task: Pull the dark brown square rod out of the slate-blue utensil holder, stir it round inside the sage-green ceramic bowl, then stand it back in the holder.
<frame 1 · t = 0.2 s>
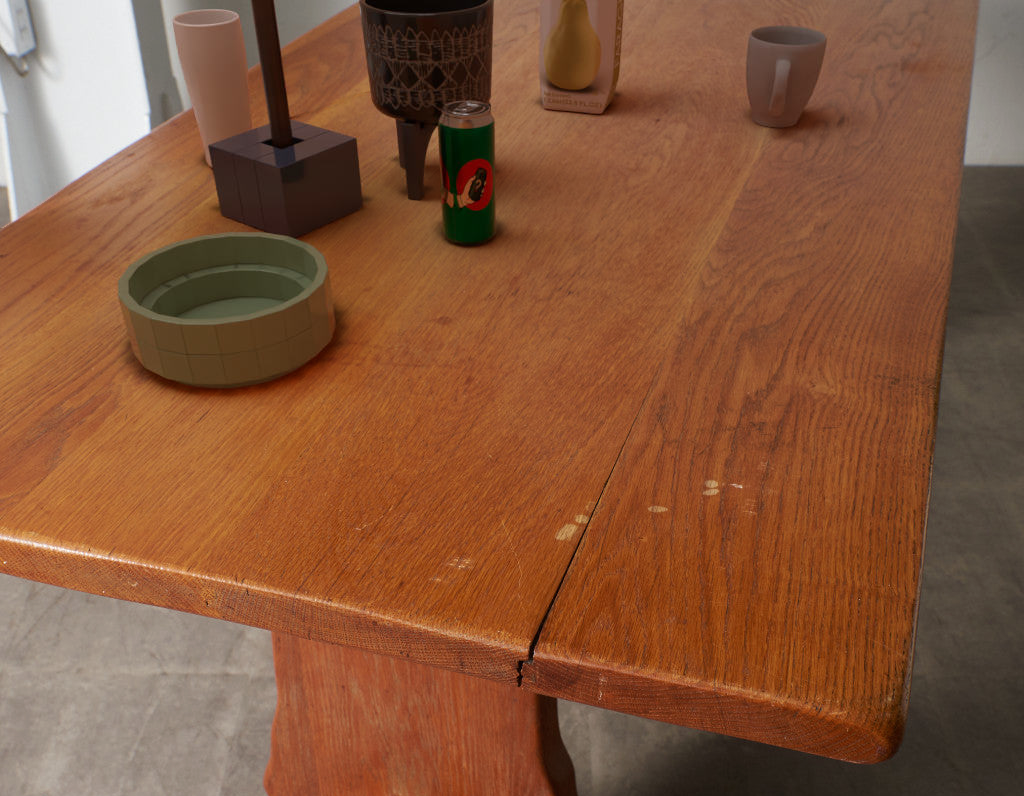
dark brown square rod: (278, 109, 95), in the holder
juice carton: (578, 106, 127), on the table
holder: (292, 211, 101), on the table
bowl: (237, 343, 81), on the table
mug: (773, 126, 121), on the table
soda can: (469, 238, 97), on the table
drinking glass: (232, 165, 111), on the table
planter: (435, 181, 108), on the table
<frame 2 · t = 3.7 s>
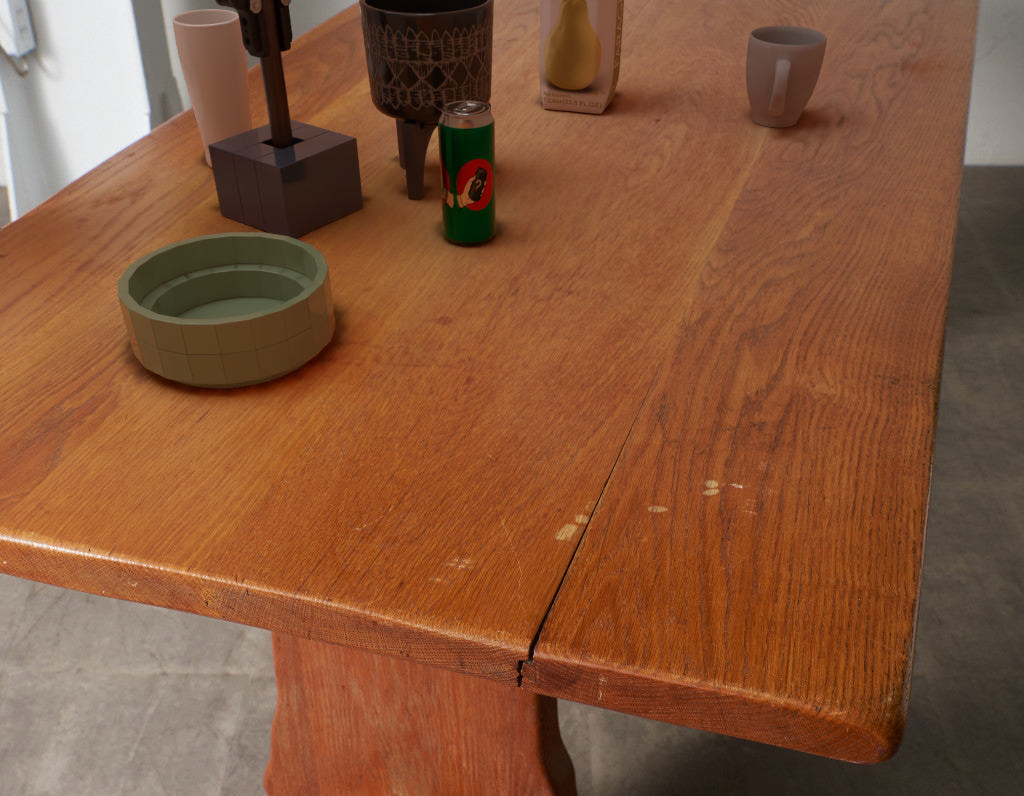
hand: (269, 52, 92), 15 cm above the table, tool pointing down, fingers closed on dark brown square rod, 2 cm apart
dark brown square rod: (278, 109, 95), in the holder, touching gripper
everything else where it was.
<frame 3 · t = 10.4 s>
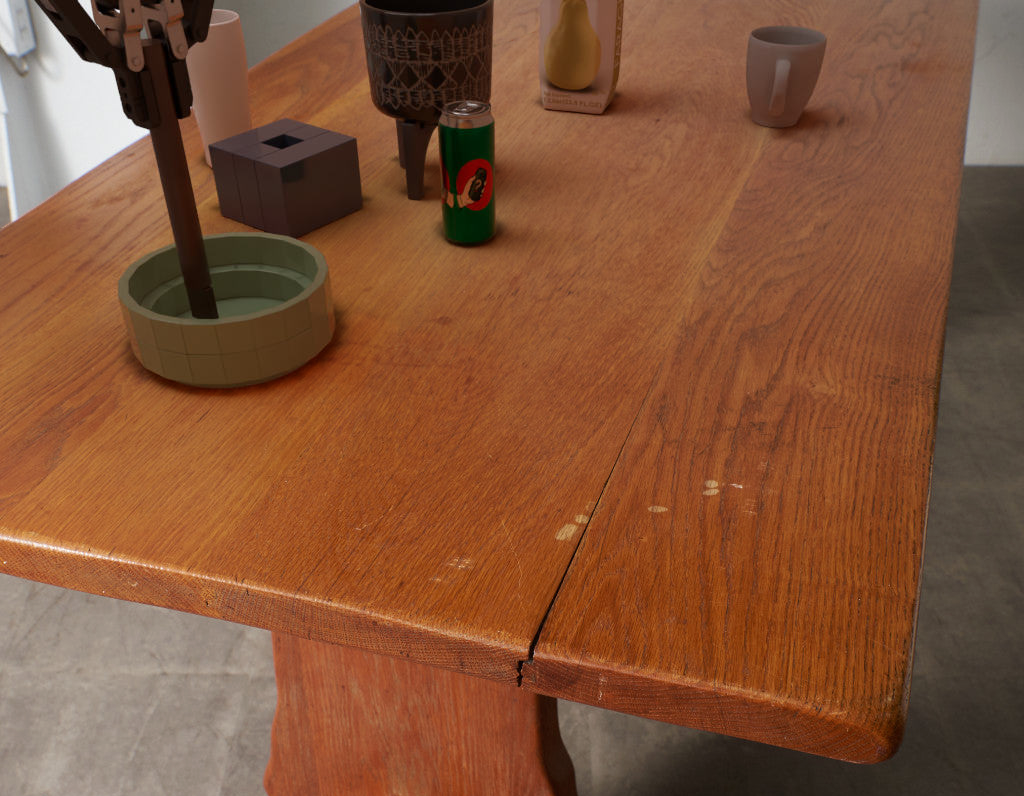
hand: (161, 120, 68), 18 cm above the table, tool pointing down, fingers closed on dark brown square rod, 2 cm apart
dark brown square rod: (178, 193, 71), point 13 cm above the table, touching gripper
everything else where it was.
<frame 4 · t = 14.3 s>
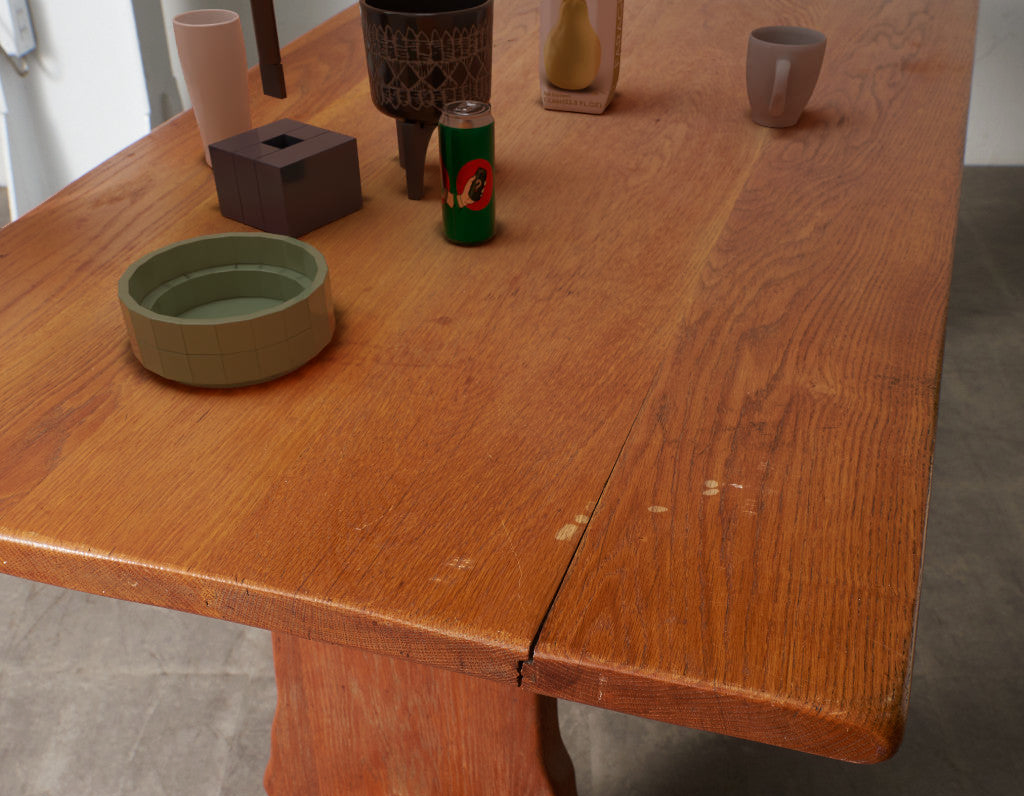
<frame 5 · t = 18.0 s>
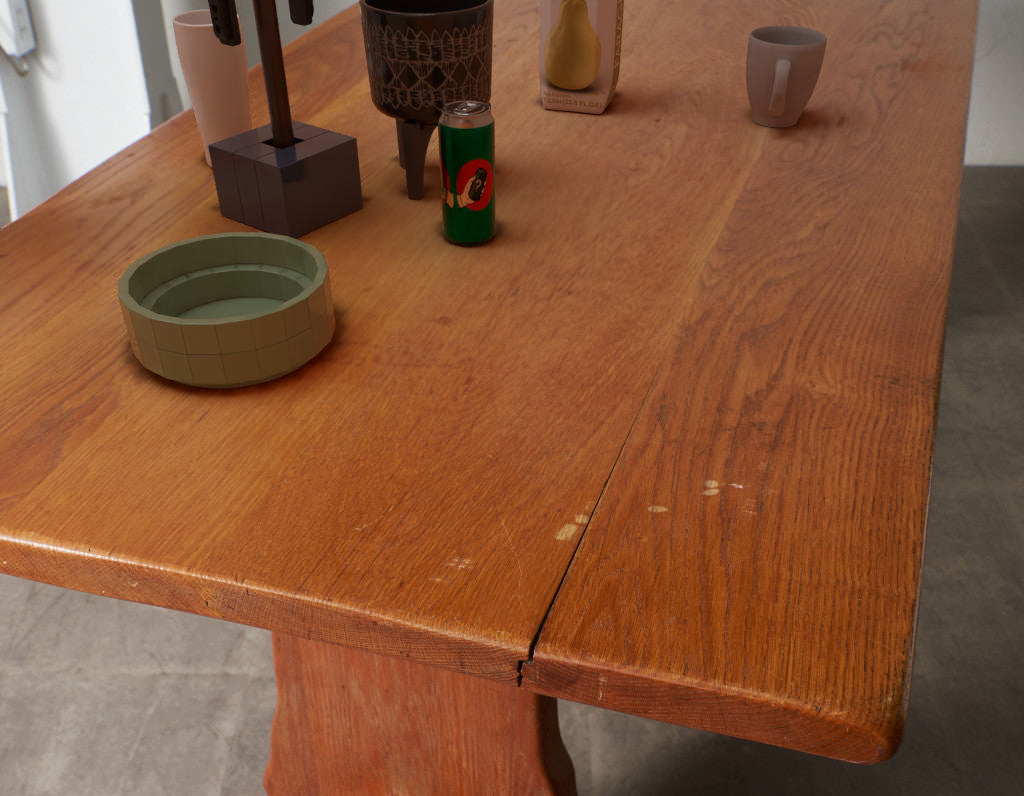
hand: (267, 34, 91), 17 cm above the table, tool pointing down, fingers open, 8 cm apart
dark brown square rod: (279, 109, 95), in the holder
everything else where it was.
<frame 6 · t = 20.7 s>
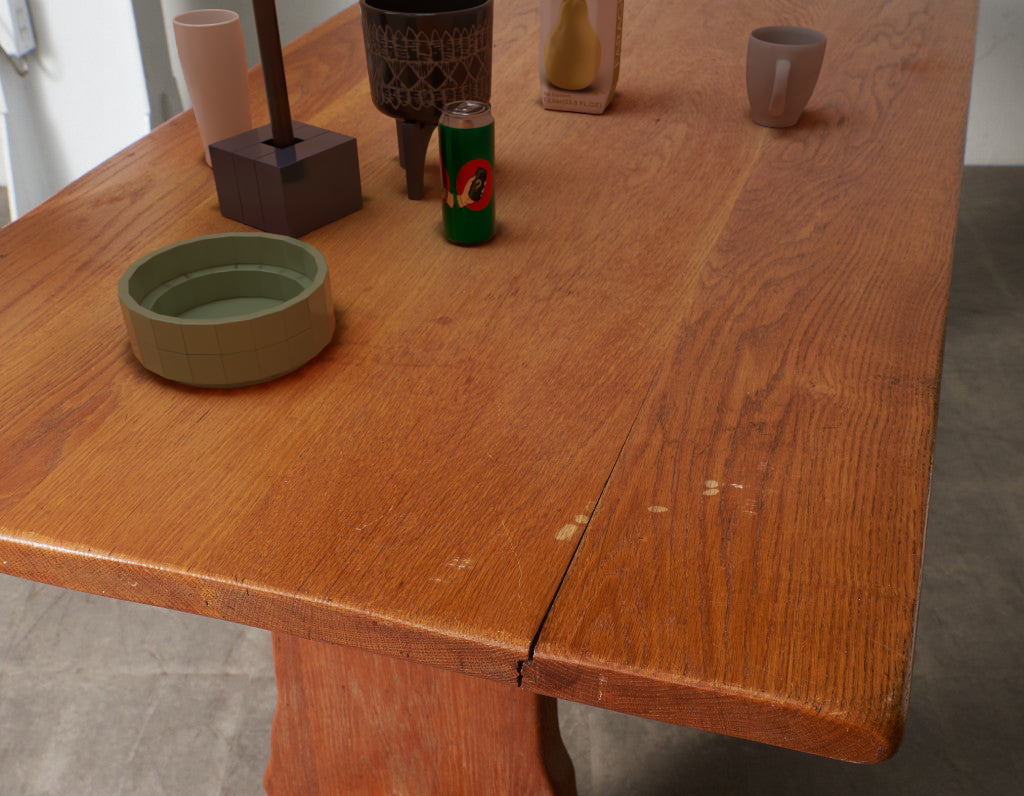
nothing on the table moved.
at the end: dark brown square rod 0.1 cm off-centre in the holder, point 10.0 cm above the holder's base; dark brown square rod tilted 0°; dark brown square rod touching table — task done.
